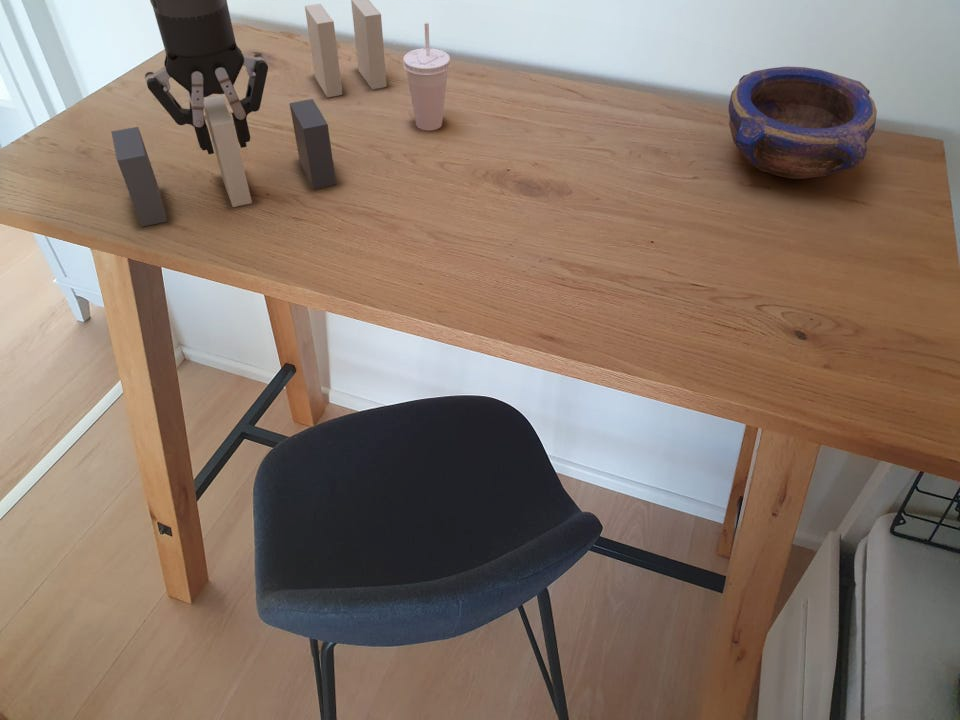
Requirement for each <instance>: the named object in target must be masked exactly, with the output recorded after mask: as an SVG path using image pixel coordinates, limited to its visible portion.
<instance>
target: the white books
mask: <svg viewBox="0 0 960 720" xmlns="http://www.w3.org/2000/svg"><path fill="white" fill-rule="evenodd" d="M350 2H351V13H352V24H353V32H354V41H355V50H356V59H357V70H358V72H359V74H360V75H361V77H362V78H363V79H364V81H365V82H366V83H367V85H368V86H369V87H370V89H371V90H377V89H382V88H387V86H388V85H387V72H386V60H385V49H384V46H385V45H384V36H383V21H382V13H381V12H380V11H379V10H378V9H377V8H376V6H375V5H374V4H373V3H372V1H371V0H350ZM304 11H305V17H306V25H307V30H308V39H309V45H310V51H311V58H312V65H313V72H314V78H315V80H316V82H317V83H318V85H319V87H320V88H321V90H322V91H323V93H324V95H325V96H326V97H327V98H333V97H339V96H343V87H342V79H341V71H340V62H339V61H340V60H339V55H338V54H339V53H338V45H337V37H336V30H335V22H334V20H333V18H332V17H331V16H330V15H329V13H328V12H327V10H326V9H325V8H324V6H323V5H322V4H321V3H314V4H308V5H304Z"/></svg>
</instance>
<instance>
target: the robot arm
mask: <svg viewBox="0 0 960 720" xmlns="http://www.w3.org/2000/svg"><path fill="white" fill-rule="evenodd" d="M149 2H150V4H151V6H152V10H153V12H154V16H155V20H156V24H157V27H158V30H159V34H160V37H161V40H162V44H163V48H164V51H165V59H164V63H163V65H164V66H163V67H161V68H160V69H158V70H157V71H155V72H154V71H148V72H146V73H145V74H144V79H145V83H146V86H147V89H148V91H150V93H151V94H152V95H153V97H155V99H156V100H157V101H158V102H159V104H160V105H161V106H162V107H163V108H164V110H165V111H166V112H167V114H168V115H169V116H170V117H171V118H172V119H173V121H174V122H175V124H177V125H178V126H185V125H190V126H192V127H193V128H194V132H195V135H196V139H197V142H198V145H199V148H200V149H201V150H202V151H207V155H213V154H215V149H214V145H213V142H212V138H211V134H210V130H209V126H208V123H207V121H206V119H205V116H204V115H205V111H204V98H208V97H211V95H225V97H226V100H227V101H228V103H229V106H230V108H231V110H232V112H231V118H232V121H233V124H234V129H235V133H236V137H237V141H238V145H239V148H241V149H244V148H247V143H249V142H250V141H251V133H250V129H249V125H248V119H247V117H248V115H250V114H251V113H252V112H254V113H255V112H256V113H257V112H259V110H260V109H261V103H262V99H263V95H264V90H265V86H266V81H267V76H268V71H269V66H268V63H267V61H266V59H265V58H264V56H263V55H262V54H260V53H256V54H255V55H249V54H244V53H243V52H242V50H241V49H240V48H239V47H238V44H237V42H236V38H235V33H234V28H233V23H232V19H231V14H230V10H229V5H228V0H149ZM243 66H244V67H245V71H246V73H247V75H248V76H249V77H248V84H247V87H246V92H245V96H244V97H243V98H242V99H240V98H239V96H238V94H237V92H236V89H235V86H234V85H235V83H236V81H237V78H238V77H239V75H240V72H241V70H242V68H243ZM170 78H171V79H172V80H174V81H175V82H176V83H178V85H180V86H181V87H182V88H184V90H185V91H187V96H188V105H189V108H184V107H182V105H181V104H180V103H179V102H178V101H177V99H176V98H175V97H174V96H173V94H171V92H170V90H171V84H170V81H169V80H170Z"/></svg>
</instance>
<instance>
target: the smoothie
mask: <svg viewBox="0 0 960 720" xmlns="http://www.w3.org/2000/svg"><path fill="white" fill-rule="evenodd" d="M424 45H425V46H424V47H425V48H422V47H421V48H417V49H412V50H410V51H408V52H407V53H405V55H403V59H402V60H403V61H402V62H403V64H402V67H403V68H404V69H405V71H406V76H407V81H408V88H409V92H410V98H411V104H412V108H413V114H414V120H415V125H416V127H417V128H418V129H420V130H421V131H427V132H428V131H436V130H438V129H440V128H441V127H442V126H443V118H444V109H445V99H446V91H447V82H448V81H447V80H448V71H449V69H450V68H451V57H450V55H449V54H448V53H447V52H445V51H444V50H441V49H437V48H430V25H429V22H424Z"/></svg>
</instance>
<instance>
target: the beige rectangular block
mask: <svg viewBox="0 0 960 720" xmlns="http://www.w3.org/2000/svg"><path fill="white" fill-rule="evenodd" d="M203 112H204V115H205V118H206V123H207V127H208V131H209V134H210V138H211V142H212V146H213V150H214V153H215V156H216V160H217V164H218V168H219V171H220V176H221V179H222V182H223V185H224V186H225V190H226V193H227V195H228V198H229V201H230V204H231V206H232V208H236V207H241V206H245V205H250V204H253V201H252V197H251V192H250V188H249V185H248V184H249V183H248V179H247V176H246V171H245V166H244V163H243V162H244V161H243V159H242V154H241V150H240V144H239V142H238V138H237V134H236V130H235V126H234V122H233V118H232V115H231V114H230V111H229V109H228V107H227V104H226V102H225V100H224V97H223V94H220V95H215V96H208V97H204V109H203Z"/></svg>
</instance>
